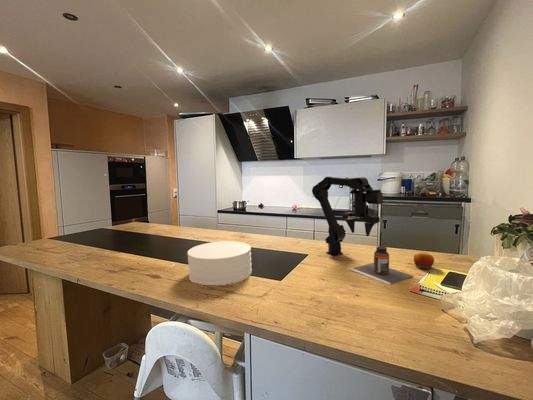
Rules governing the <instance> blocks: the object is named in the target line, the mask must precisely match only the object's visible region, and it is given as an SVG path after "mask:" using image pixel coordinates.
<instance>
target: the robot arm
mask: <svg viewBox="0 0 533 400" xmlns="http://www.w3.org/2000/svg"><path fill="white" fill-rule="evenodd" d="M333 185H335V186H346V187H348V188H351V189H352V190H351V191H350V192H349V194H351V195H353V204H352V208H353V212H352V211H347V212H343V213H342V219H343V220H344V221H345V222H346V224H347V226H348V227H349V229H350V231H351V233H352V234H354V233H355V228H356V227H355V223H356V220H363V221H365V222H364V230H365V235H366V237H369V236H370V235H371V234H370V233H371V231H372V229H373V227H374V226H375V225H376V224H378V223H380V222H381V220H380V219H381V218H380V216H379V215H375V213H376V210H374V209H373V208H370V207H369V204H370V205H382V204H383V201H384V195H383V193H382V189H373V187H372V185H371V184H370V183H369V180H368V178H366V177H364V176H363V177H362V176H361V177H351V178H348V177H347V178H346V177H333V176H325V177H324V178H323V179H322V180H320V181H319V182H317V184H316V185H314V186H312V189H311V194H312V195H313V197H314V198H315V199H316V200H317V202H319V204H320V208H321V209H322V212H323V215H324V216H325V219H326V222H327V224H328V236H327V237H326V238H324V239H325V243H326V244H328V246H327V249H328V251H325V253H326V254H328V255H330V256H333V257H335V256H339V255H343V254H344V252H342V245H341V244H342V242H343V241H344V240H345V237H346V232H347V231H346V230H345V228H344V227H345V226H344V225H343V224H340V223H338V220H337V218H336V215H335V213H334V211H333V208H332V206H331V203H330V201H329V190H330V188H331V187H332V186H333Z"/></svg>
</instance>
